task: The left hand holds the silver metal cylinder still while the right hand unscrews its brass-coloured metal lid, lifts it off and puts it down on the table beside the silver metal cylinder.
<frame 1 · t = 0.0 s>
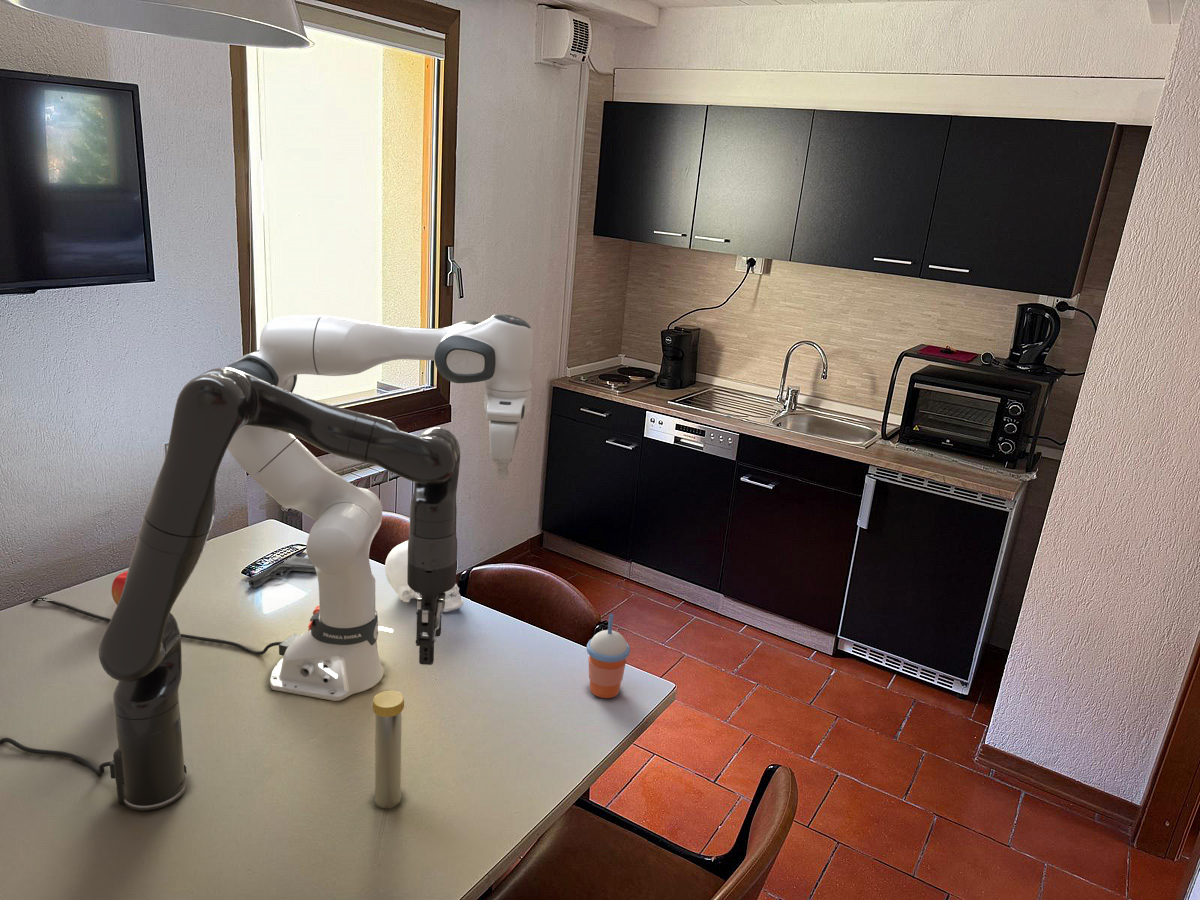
left hand: (430, 649, 137), 29 cm above the table, tool pointing down, fingers open, 8 cm apart
right hand: (504, 470, 166), 48 cm above the table, tool pointing down, fingers open, 8 cm apart
lid: (388, 700, 139), point 20 cm above the table, screwed on, not yet turned
skull: (425, 601, 213), on the table
apple: (137, 611, 198), on the table
handgun: (287, 576, 220), on the table
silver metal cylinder: (388, 800, 145), on the table
cup with straw: (604, 691, 181), on the table
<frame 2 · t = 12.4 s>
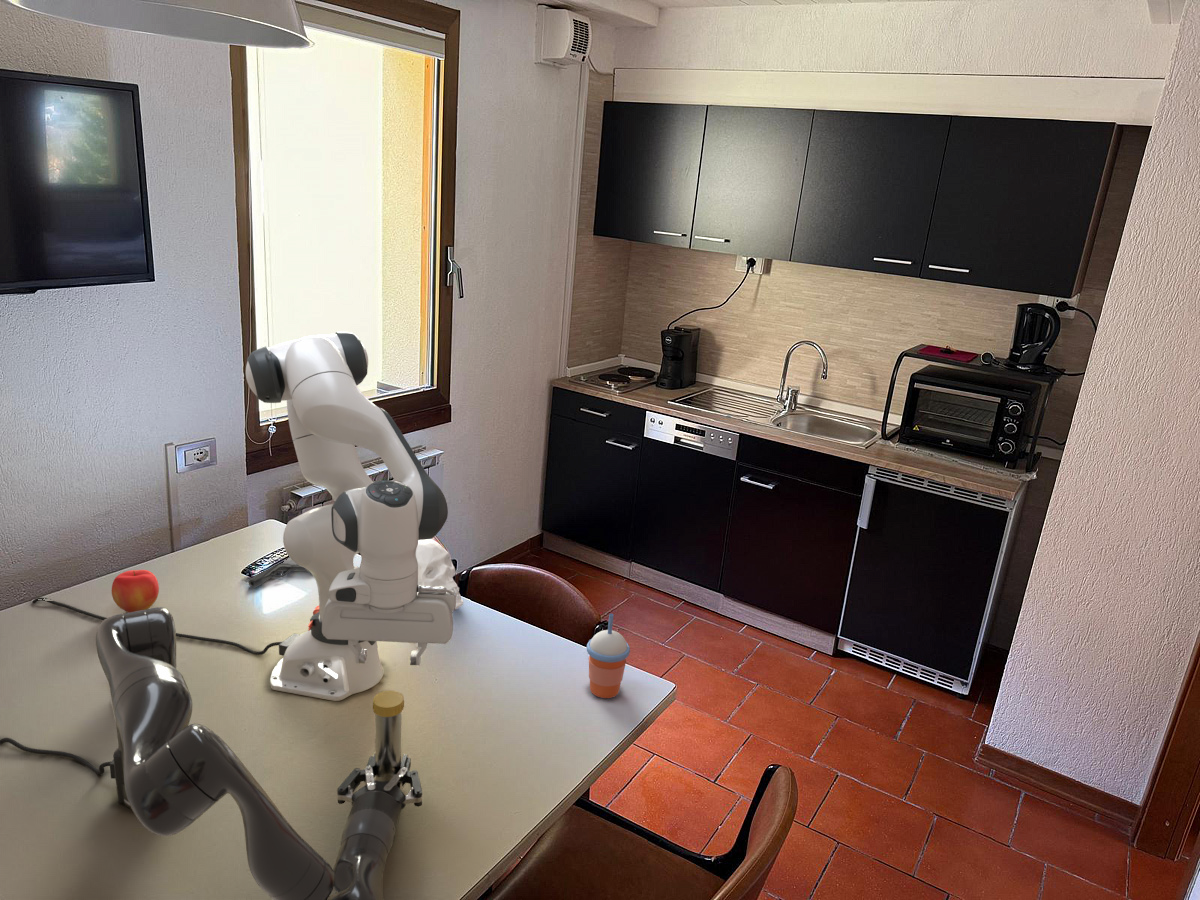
left hand: (391, 758, 146), 6 cm above the table, tool horizontal, fingers closed on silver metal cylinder, 4 cm apart
right hand: (388, 662, 137), 27 cm above the table, tool pointing down, fingers open, 7 cm apart
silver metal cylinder: (388, 800, 145), on the table, touching left hand
everything else where it was.
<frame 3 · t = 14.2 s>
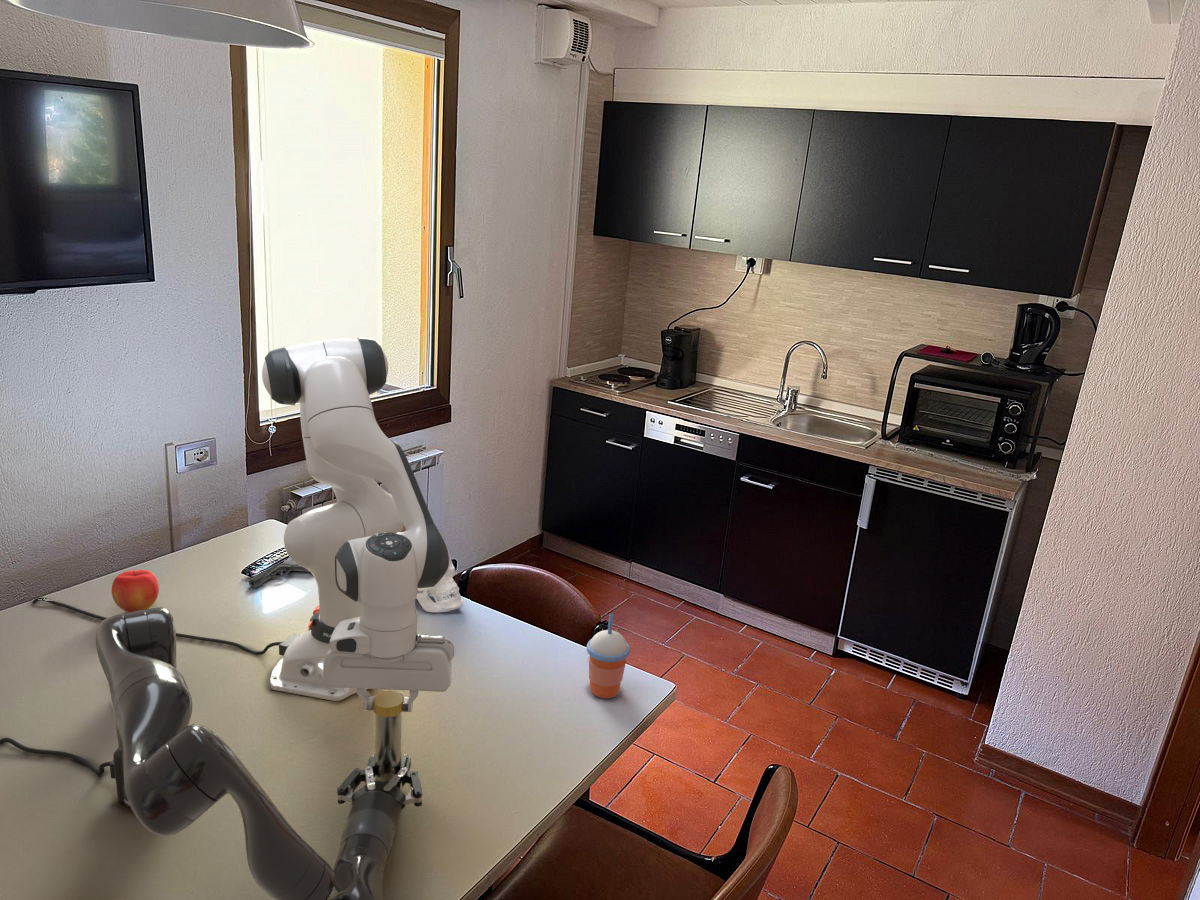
left hand: (391, 758, 146), 6 cm above the table, tool horizontal, fingers closed on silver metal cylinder, 4 cm apart
right hand: (388, 709, 140), 18 cm above the table, tool pointing down, fingers closed on lid, 5 cm apart
lid: (388, 700, 139), point 20 cm above the table, screwed on, not yet turned, touching right hand
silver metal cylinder: (387, 800, 145), on the table, touching left hand
everything else where it was.
when the right hand's fingers open (18 cm above the table, at t = 15.5 s): lid stays where it is, point 20 cm above the table.
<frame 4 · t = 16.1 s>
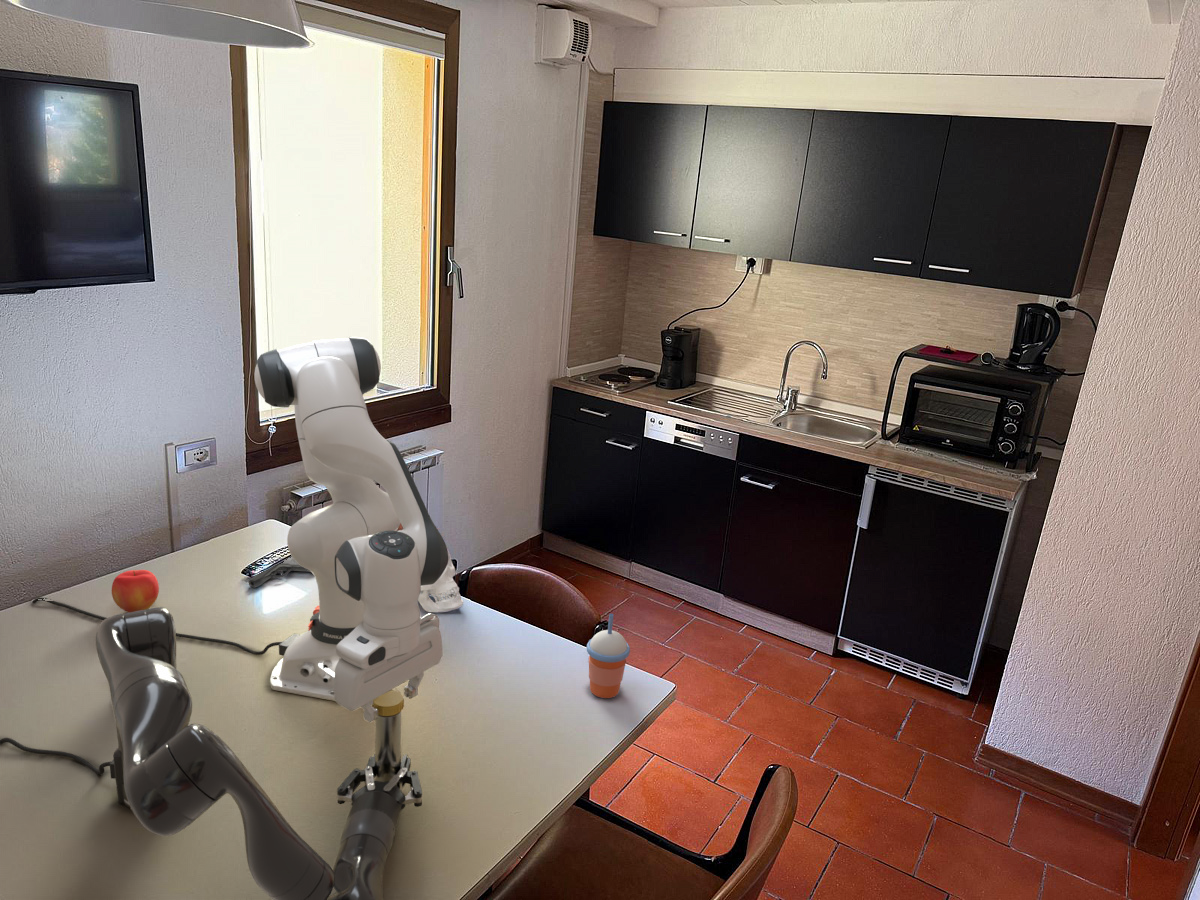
left hand: (390, 758, 146), 6 cm above the table, tool horizontal, fingers closed on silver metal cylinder, 4 cm apart
right hand: (391, 707, 140), 18 cm above the table, tool pointing down, fingers open, 7 cm apart
lid: (388, 699, 139), point 20 cm above the table, turned 82° so far, risen 0.2 cm, still on its thread
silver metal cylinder: (387, 800, 145), on the table, touching left hand
everything else where it was.
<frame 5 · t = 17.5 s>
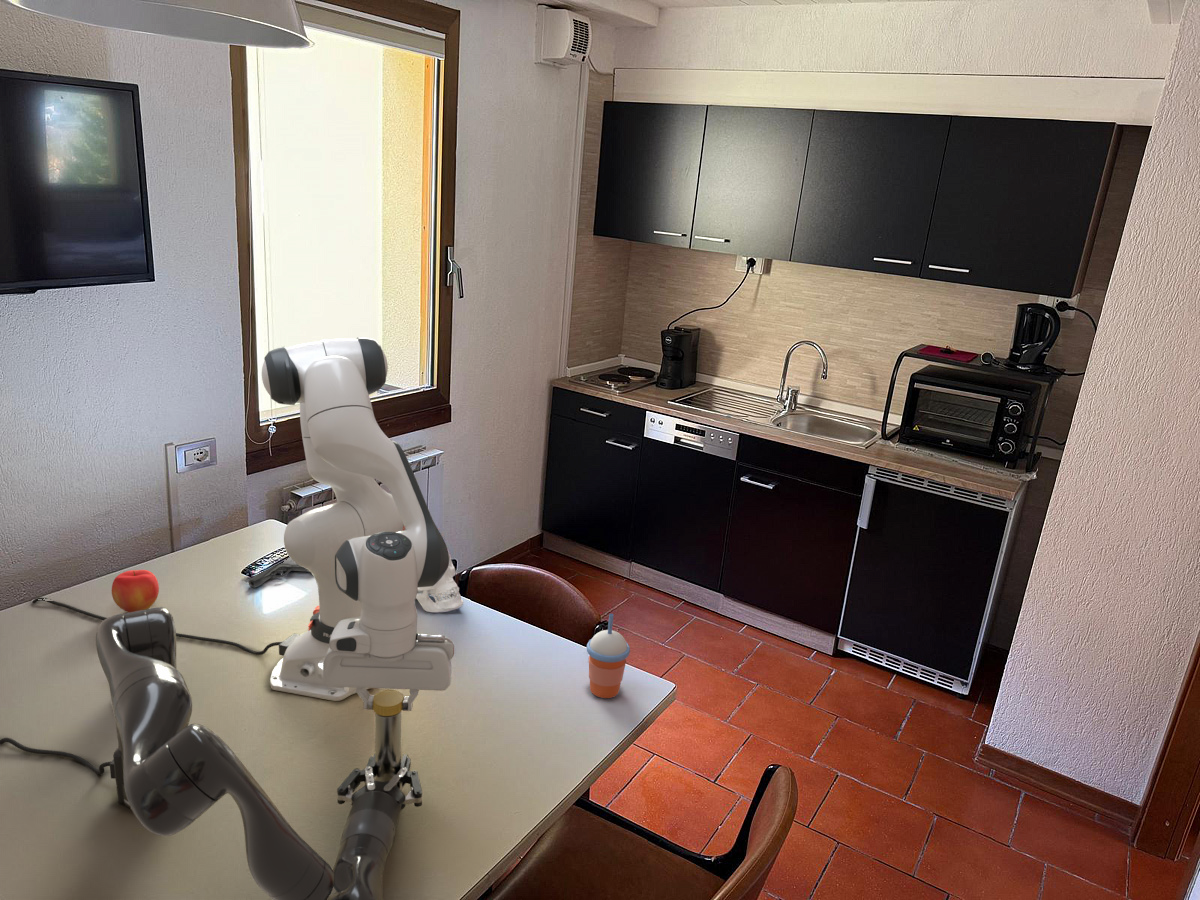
left hand: (390, 758, 146), 6 cm above the table, tool horizontal, fingers closed on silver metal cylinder, 4 cm apart
right hand: (388, 708, 140), 18 cm above the table, tool pointing down, fingers closed on lid, 5 cm apart
lid: (388, 699, 139), point 20 cm above the table, turned 82° so far, risen 0.2 cm, still on its thread, touching right hand
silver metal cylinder: (387, 800, 145), on the table, touching left hand
everything else where it was.
when the right hand's fingers open (2 cm above the table, at t = 23.5 s): lid drops 2 cm, point 1 cm above the table.
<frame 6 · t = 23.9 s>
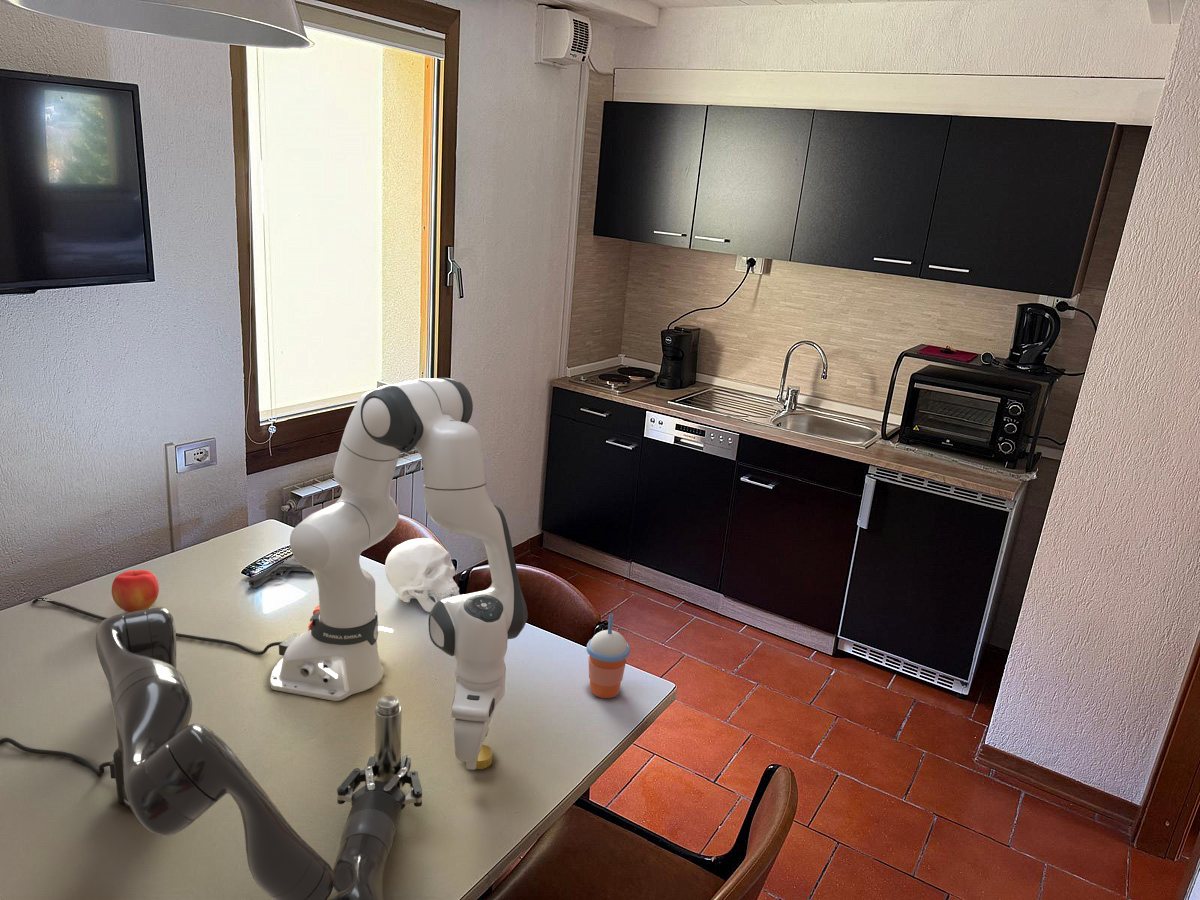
left hand: (390, 758, 146), 6 cm above the table, tool horizontal, fingers closed on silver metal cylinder, 4 cm apart
right hand: (477, 750, 156), 2 cm above the table, tool pointing down, fingers open, 8 cm apart
lid: (478, 754, 156), point 1 cm above the table, off its thread
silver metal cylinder: (387, 800, 145), on the table, touching left hand
everything else where it was.
when the left hand's fingers open (6 cm above the table, at t = 24.5 s): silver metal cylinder stays where it is, on the table.
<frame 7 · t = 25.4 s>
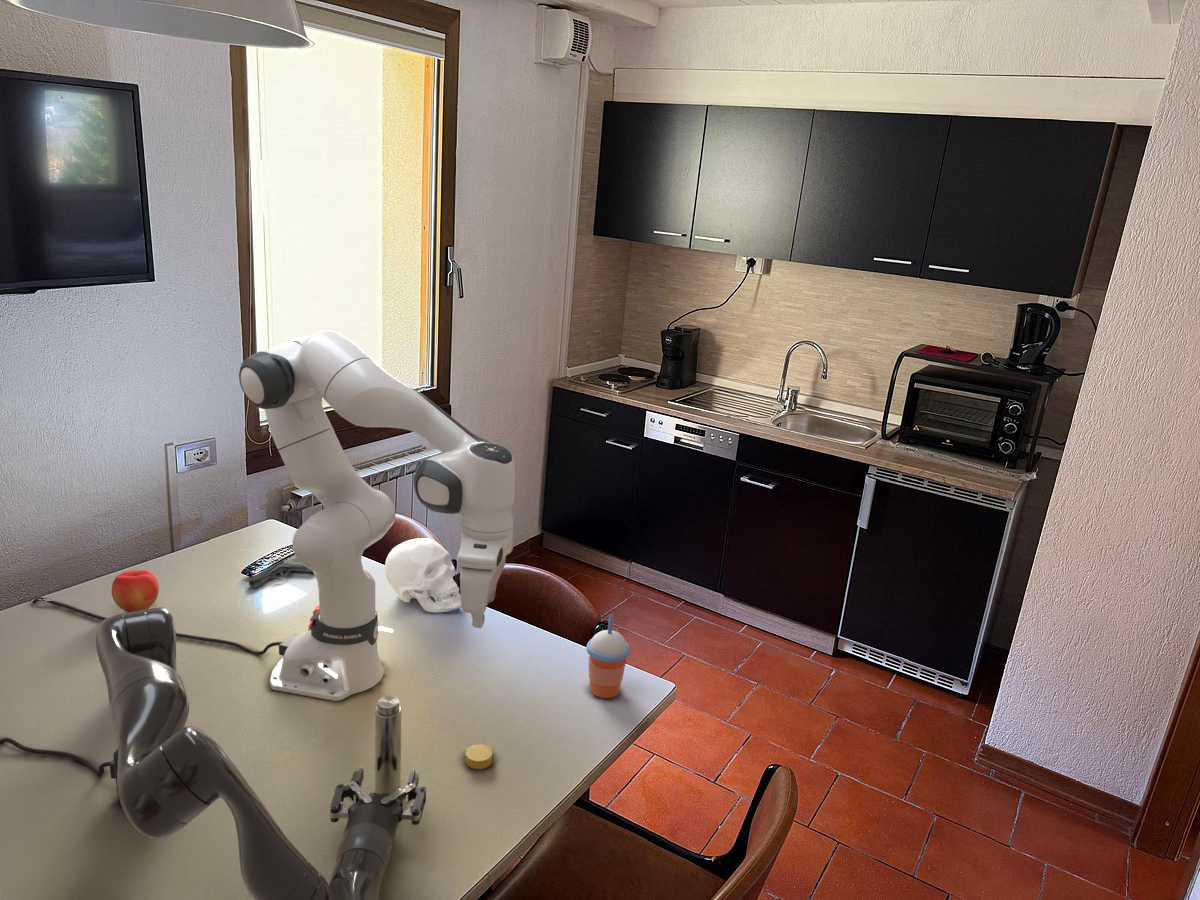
left hand: (387, 773, 142), 6 cm above the table, tool horizontal, fingers open, 8 cm apart
right hand: (483, 612, 148), 30 cm above the table, tool pointing down, fingers open, 8 cm apart
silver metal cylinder: (387, 800, 145), on the table
everything else where it was.
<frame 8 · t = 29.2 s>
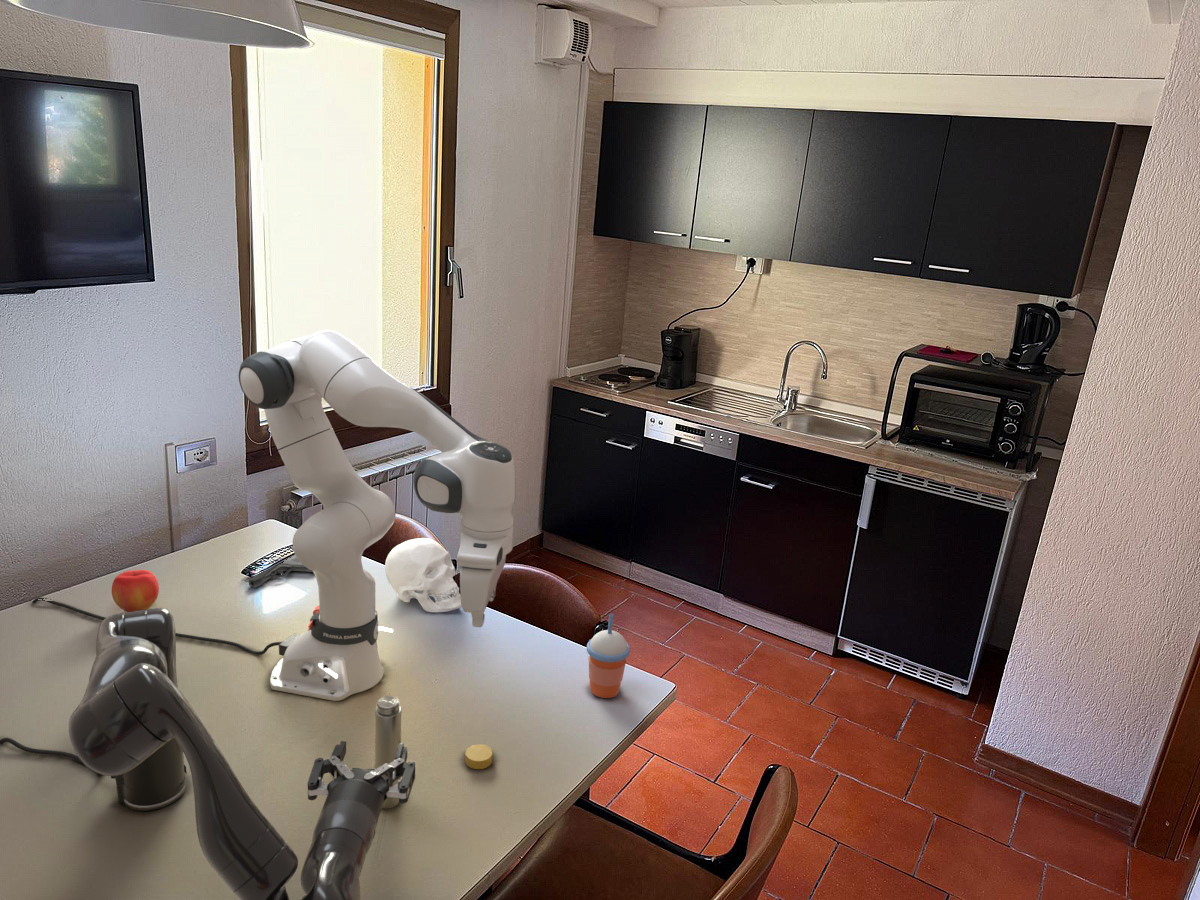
left hand: (372, 747, 128), 20 cm above the table, tool horizontal, fingers open, 8 cm apart
right hand: (483, 611, 148), 30 cm above the table, tool pointing down, fingers open, 8 cm apart
nothing on the table moved.
at the end: lid came off its thread; lid point 1.4 cm above the table; the left hand is holding nothing; the right hand is holding nothing; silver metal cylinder tilted 0°; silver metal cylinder moved 0.0 cm from its start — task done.
